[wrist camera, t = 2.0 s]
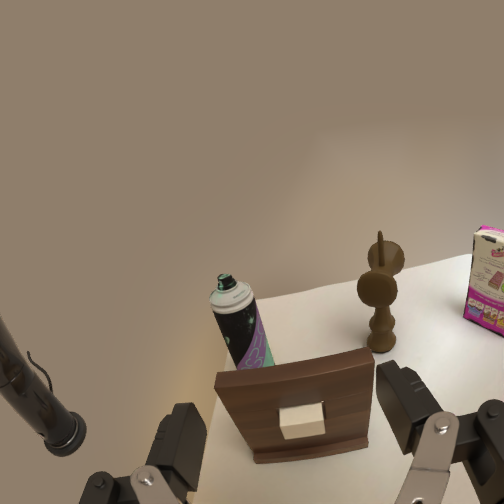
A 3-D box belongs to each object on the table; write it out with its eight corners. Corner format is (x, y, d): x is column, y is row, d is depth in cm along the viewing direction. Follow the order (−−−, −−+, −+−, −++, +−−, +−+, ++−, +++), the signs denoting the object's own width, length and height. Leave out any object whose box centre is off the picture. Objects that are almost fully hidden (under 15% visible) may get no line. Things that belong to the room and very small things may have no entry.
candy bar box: (516, 324, 30) (536, 238, 24) (508, 340, 29) (532, 251, 22) (472, 303, 40) (482, 222, 34) (461, 317, 38) (473, 232, 32)
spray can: (243, 398, 39) (196, 291, 31) (247, 372, 44) (207, 269, 36) (278, 395, 38) (243, 283, 30) (279, 369, 43) (248, 261, 35)
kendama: (402, 326, 43) (403, 217, 35) (392, 366, 36) (398, 247, 28) (370, 323, 46) (364, 218, 39) (356, 362, 39) (349, 246, 32)
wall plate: (367, 447, 25) (378, 369, 19) (256, 464, 27) (211, 396, 21) (357, 400, 33) (356, 313, 27) (258, 416, 35) (223, 337, 29)
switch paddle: (325, 433, 22) (323, 419, 21) (284, 439, 23) (279, 426, 22) (322, 412, 25) (320, 396, 23) (284, 418, 25) (279, 403, 24)
